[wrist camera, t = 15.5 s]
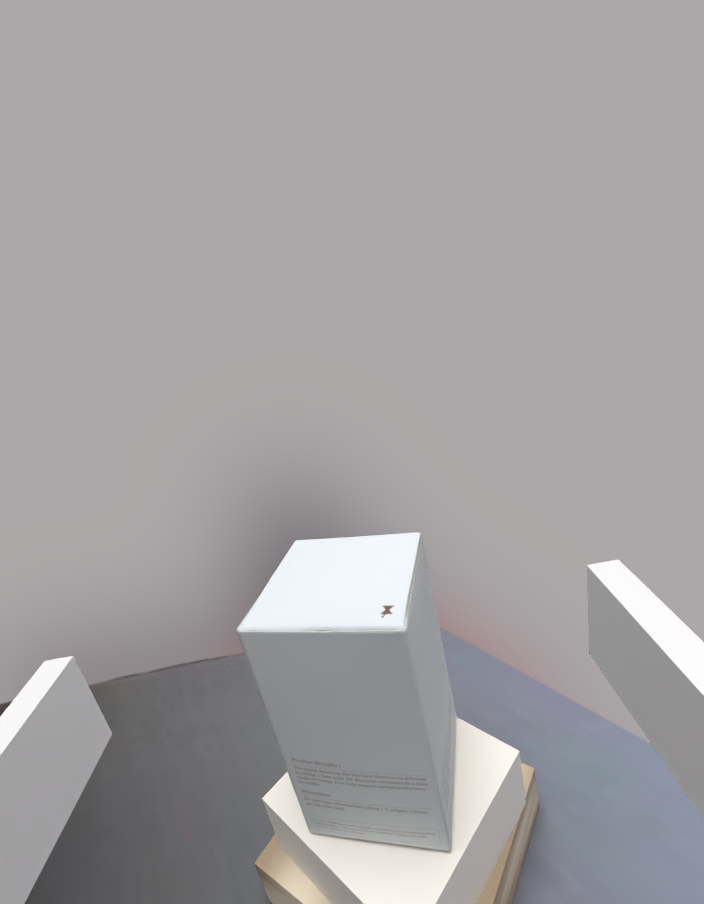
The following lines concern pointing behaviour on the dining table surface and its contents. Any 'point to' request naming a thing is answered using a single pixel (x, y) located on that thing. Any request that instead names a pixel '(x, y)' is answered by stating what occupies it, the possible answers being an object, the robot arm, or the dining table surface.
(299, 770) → the supplement box
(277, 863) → the tower base block
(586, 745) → the dining table surface
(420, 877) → the tower top block
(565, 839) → the dining table surface
